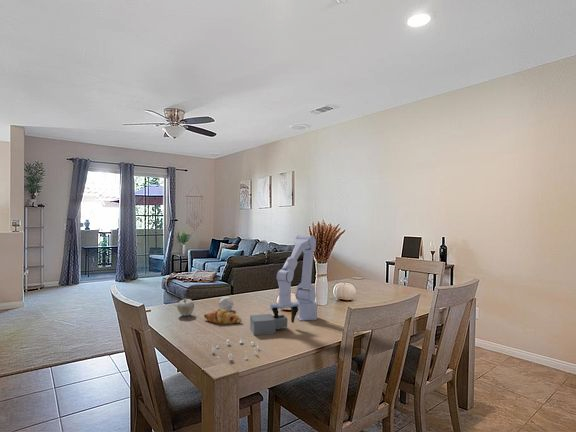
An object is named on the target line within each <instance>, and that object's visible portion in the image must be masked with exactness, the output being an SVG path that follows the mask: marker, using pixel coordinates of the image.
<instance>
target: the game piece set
mask: <svg viewBox="0 0 576 432" xmlns="http://www.w3.org/2000/svg"><path fill="white" fill-rule="evenodd" d="M230 342H231V340H230V339H226V345H227V346H230ZM239 344H244V339H243V337H241V338H240V339H239ZM256 344H257V346H255V342H254V341H253V340H252V341H250V344H249V345H250V346H251V347H252V346H254V347H253V349H254V352H253V353H252V356H258V355H259V353H258V352H257V350H258V351H259V349H260V347H259V341H256ZM216 349H220V346H219V345H218V343H217V344H216V346H214V345H213V346H211V349H210V350H211V354H214V353H215V350H216ZM244 350H245V349H244ZM245 352H247V349H246V350H245ZM215 357H216V359H218V360H219V359H220V356H218V355H217V354H215ZM227 357H228V361H230V362H231V361H232V359H233V354H232V353H229V354H228V355H227ZM248 358H249V357H248V356H245V357H244V360H245V361H246V360H249V359H248Z"/></svg>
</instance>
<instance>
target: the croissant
mask: <svg viewBox="0 0 576 432" xmlns="http://www.w3.org/2000/svg"><path fill="white" fill-rule="evenodd" d="M203 317H204V319H206V320H207V321H208V322H210V323H213V324H218V325H228V324H229V325H230V324H240V323H241V322H242V321H243V320H242V318H241V317H240V316H239V315H236V314H235V313H234V312H233V311H227V310H225V309H220V308H218V309H217V310H214V311H212V312H208V313H206V314H203Z"/></svg>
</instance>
